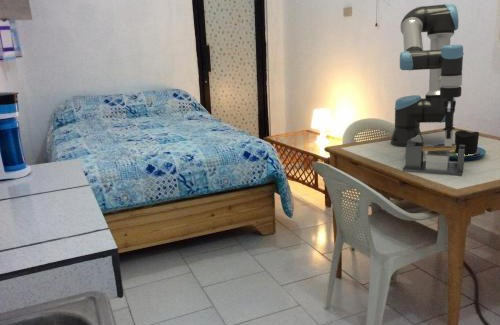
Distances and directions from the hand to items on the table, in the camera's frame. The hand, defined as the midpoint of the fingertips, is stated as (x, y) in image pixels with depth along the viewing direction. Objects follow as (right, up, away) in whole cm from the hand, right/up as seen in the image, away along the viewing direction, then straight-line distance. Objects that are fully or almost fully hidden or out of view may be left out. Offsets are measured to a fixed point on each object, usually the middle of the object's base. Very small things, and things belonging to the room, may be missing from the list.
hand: (448, 145), depth 174 cm
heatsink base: (-4, -9, +6) cm, 11 cm away
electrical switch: (-4, -4, +23) cm, 24 cm away
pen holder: (+17, -3, +20) cm, 26 cm away
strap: (-4, -1, +3) cm, 5 cm away
